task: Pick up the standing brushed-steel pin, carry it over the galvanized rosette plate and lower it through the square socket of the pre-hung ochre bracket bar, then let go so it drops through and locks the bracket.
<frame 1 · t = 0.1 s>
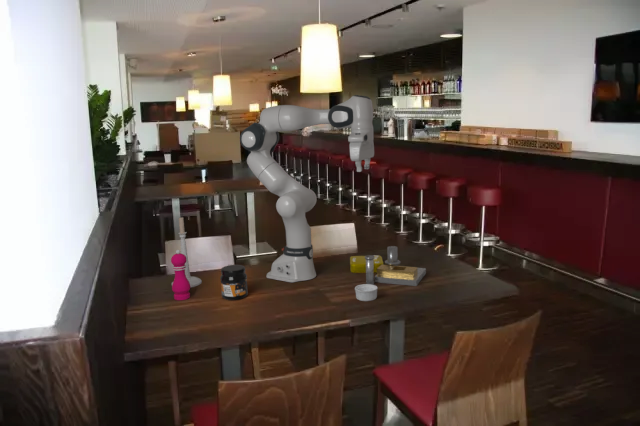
hand: (363, 170, 214), 48 cm above the table, fingers open, 8 cm apart
candlestick: (186, 284, 231), on the table
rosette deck: (400, 277, 227), on the table
supplement container: (235, 297, 212), on the table
steel pin: (370, 284, 221), on the table
element tile: (366, 269, 244), on the table
ramekin: (366, 298, 205), on the table
pepper mill: (182, 298, 212), on the table
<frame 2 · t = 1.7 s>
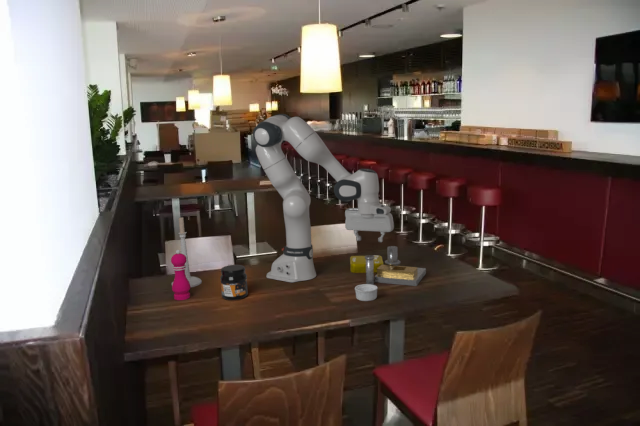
hand: (369, 241, 217), 19 cm above the table, fingers open, 8 cm apart
nothing on the table moved.
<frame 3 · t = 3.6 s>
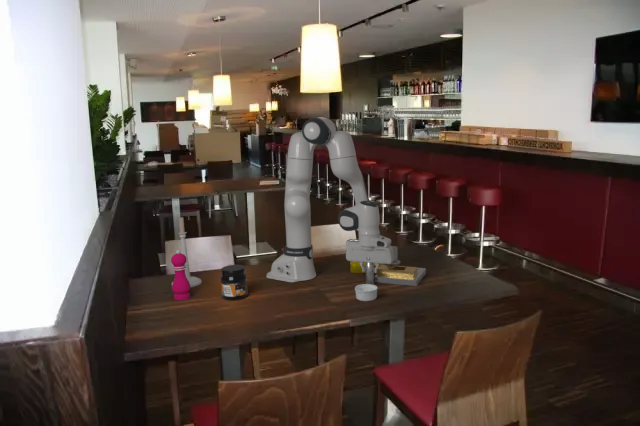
hand: (369, 272, 220), 5 cm above the table, fingers closed on steel pin, 3 cm apart
steel pin: (370, 284, 221), on the table, touching gripper
everything else where it was.
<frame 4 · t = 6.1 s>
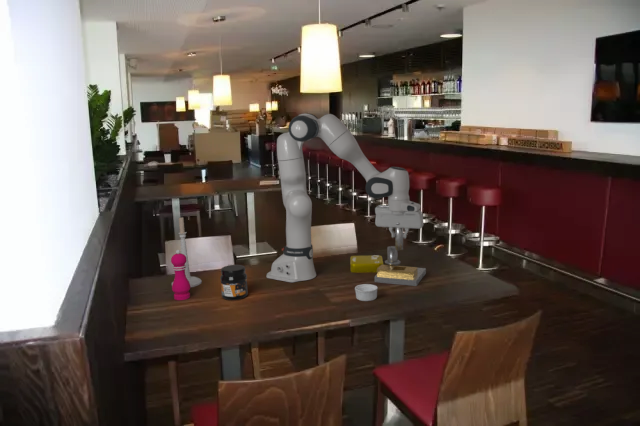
hand: (399, 237, 222), 18 cm above the table, fingers closed on steel pin, 3 cm apart
steel pin: (399, 249, 223), point 13 cm above the table, touching gripper
everything else where it was.
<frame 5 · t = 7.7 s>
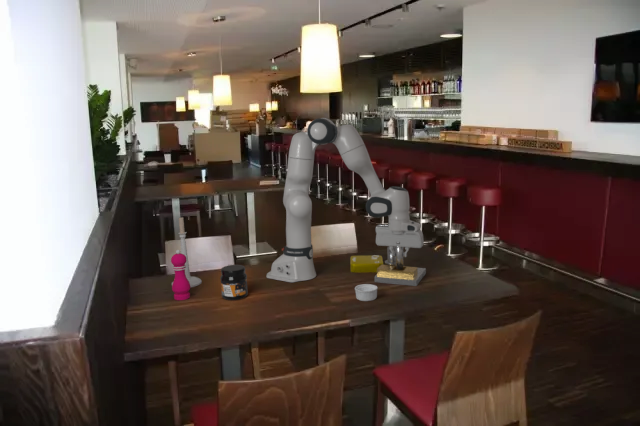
hand: (399, 256, 224), 10 cm above the table, fingers closed on steel pin, 3 cm apart
steel pin: (399, 268, 225), point 5 cm above the table, touching gripper
everything else where it was.
when the fingers open (8 cm above the table, at t = 8.7 s): steel pin drops 2 cm, resting in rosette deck.
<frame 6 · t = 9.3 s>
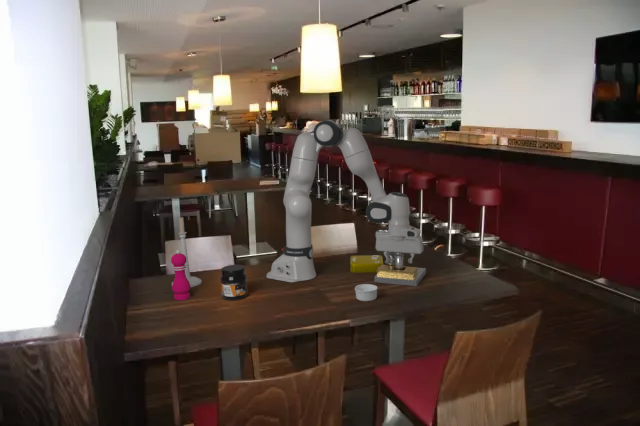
hand: (399, 262, 224), 8 cm above the table, fingers open, 8 cm apart
steel pin: (399, 279, 226), resting in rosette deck
everything else where it was.
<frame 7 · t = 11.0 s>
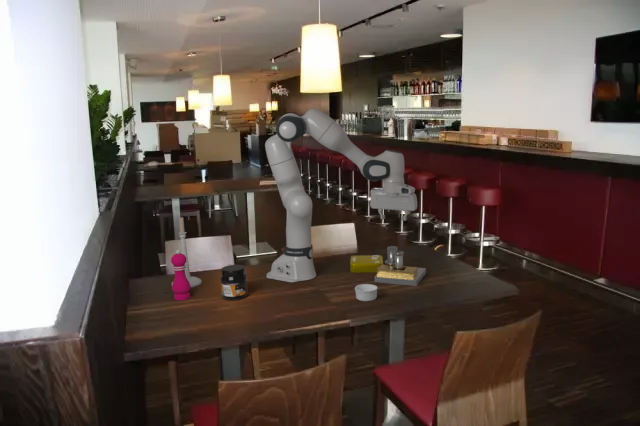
hand: (393, 219, 227), 25 cm above the table, fingers open, 8 cm apart
nothing on the table moved.
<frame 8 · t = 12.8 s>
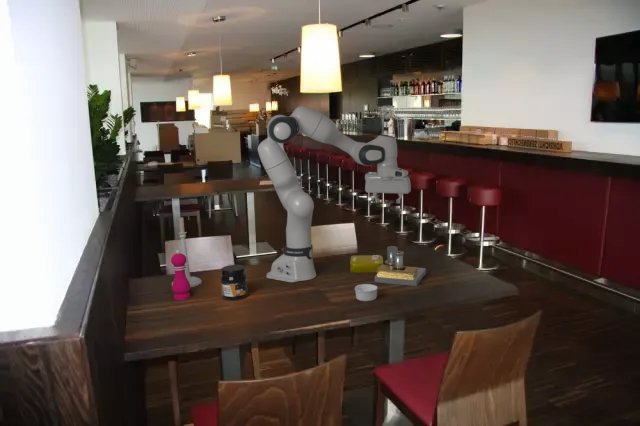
hand: (387, 203, 233), 31 cm above the table, fingers open, 8 cm apart
nothing on the table moved.
at the end: steel pin 0.1 cm from the target spot on the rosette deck, point 0.0 cm above the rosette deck's base; steel pin tilted 0°; the gripper is holding nothing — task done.
